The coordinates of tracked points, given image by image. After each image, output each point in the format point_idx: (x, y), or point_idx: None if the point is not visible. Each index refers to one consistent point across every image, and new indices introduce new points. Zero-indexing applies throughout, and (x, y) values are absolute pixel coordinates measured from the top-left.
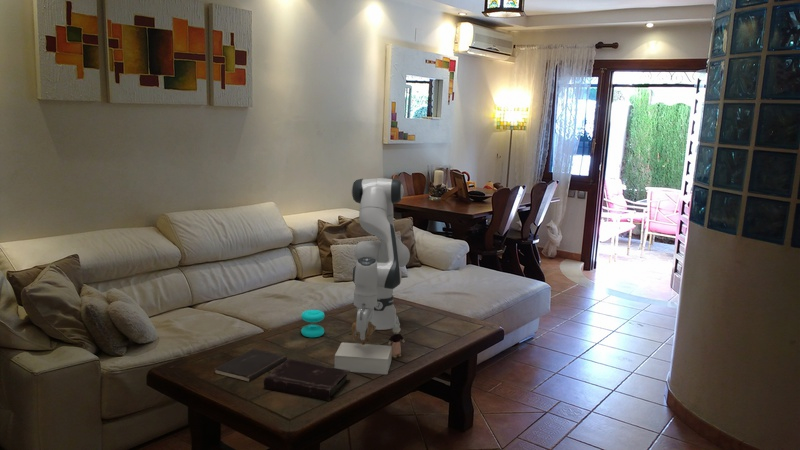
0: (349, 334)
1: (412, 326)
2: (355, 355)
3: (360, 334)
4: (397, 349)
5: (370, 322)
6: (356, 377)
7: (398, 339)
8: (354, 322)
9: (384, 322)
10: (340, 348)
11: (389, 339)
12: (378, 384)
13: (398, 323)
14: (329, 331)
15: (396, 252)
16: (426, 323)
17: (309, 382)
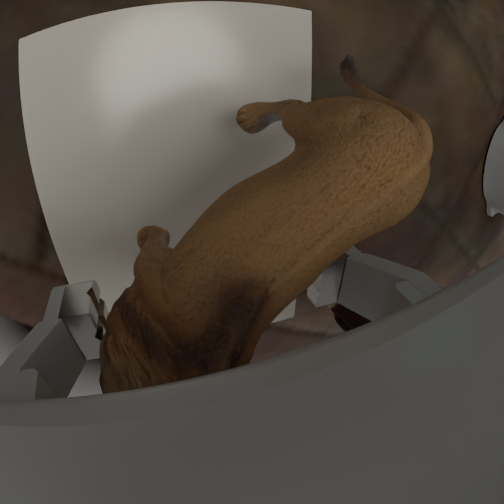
0: (345, 61)
1: (480, 241)
2: (61, 182)
3: (33, 335)
4: None
5: None
6: (16, 195)
7: (344, 330)
8: (414, 153)
9: (501, 188)
10: (176, 16)
11: (340, 306)
12: (13, 300)
13: (495, 211)
14: (475, 13)
15: None
16: (482, 262)
17: None
